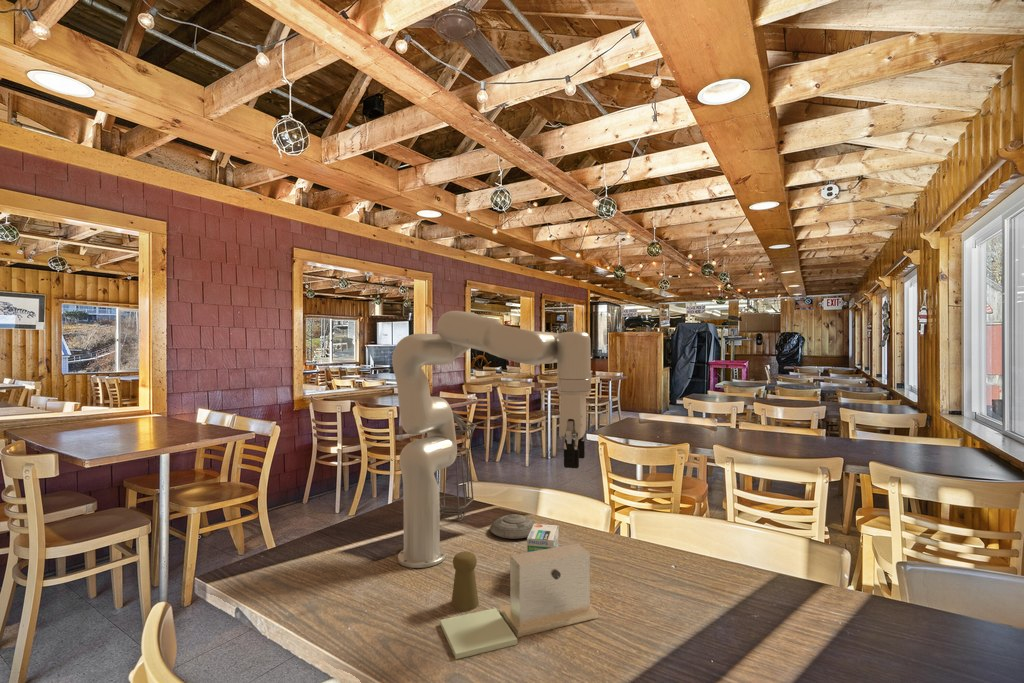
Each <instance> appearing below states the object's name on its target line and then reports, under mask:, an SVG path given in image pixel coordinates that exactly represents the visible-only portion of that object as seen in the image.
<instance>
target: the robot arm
mask: <svg viewBox="0 0 1024 683" xmlns="http://www.w3.org/2000/svg"><path fill="white" fill-rule="evenodd" d="M436 330H437V333H438V334H437V333H413V334H409V335H407V336H405V337H403V338H401V339H400V340H399V341H398V343H396V346H395V347H394V350H393V353H392V360H391V361H392V369H393V373H394V378H395V381H396V386H397V387H396V388H397V397H398V406H399V407H398V408H399V416H400V423H401V427H402V430H403V431H404V432H405V433H407V434H408V435H411V436H412V435H413V436H417V435H422V434H426V433H427V434H426V435H427V436H426V437H424V438H423V437H422V438H420V439H417V440H416V439H415V440H413V441H411V442H409V443H407V444H406V445H405V446H404V447H403V448H402V449H401V452H400V454H399V468H400V472H401V476H402V477H401V478H402V491H403V497H402V500H403V549H402V550H400V551H399V553H398V555H397V562H398V563H399V564H400V565H402V566H403V567H407V568H413V569H423V568H429V567H433V566H436V565H438V564H440V563H441V562H443V561H444V560H445V558H446V556H447V554H446V550H445V549H444V548H443V547H441V543H440V542H441V540H440V539H441V538H440V537H441V533H440V532H441V531H440V530H441V529H440V526H441V520H440V519H441V515H440V512H441V509H440V507H441V505H440V503H441V501H440V499H441V498H439V497H440V487H439V486H440V485H439V486H438V483H437V478H436V476H435V473H436V472H438V471H439V472H440V471H441V470H444V468H445V469H448V467H450V466H452V465H453V464H454V463H455V462H456V456H457V457H458V455H457V453H458V449H457V448H458V443H457V435H456V432H455V431H456V429H455V427H456V425H455V420H454V417H453V412H454V411H453V410H452V407H451V406H450V403H449V402H448V401H447V400H446V399H445V398H443V397H440V396H431V392H430V383H429V379H428V377H427V375H426V373H425V372H424V370H423V368H422V367H423V366H435V365H437V366H440V365H447V364H448V363H451V362H452V361H454V360H456V359H457V358H459V357H460V356H462V355H463V354H464V353H466V352H467V351H469V350H470V349H473V350H477V351H481V352H485V353H488V354H489V355H492V356H496V357H497V358H501V359H504V360H507V361H512V362H515V363H519V364H524V365H531V366H533V365H546V364H555V363H556V367H557V368H556V369H557V371H556V373H557V375H556V376H557V380H556V382H557V384H556V385H557V394H560V401H559V402H560V403H559V429H558V430H559V431H558V433H559V434H558V436H559V438H560V440H561V439H564V445H563V467H564V468H565V469H579V467H580V459H585V456H586V455H585V454H586V451H585V447H586V446H585V436H584V435H585V434H586V430H587V395H588V394H589V395H590V394H591V393H592V380H591V379H592V374H591V373H592V371H591V370H592V369H591V368H592V367H591V365H592V363H591V362H592V359H591V356H592V355H591V353H592V352H591V344H592V343H591V337H590V334H589V333H588V332H584V331H565V332H560V333H559V332H558V333H557V332H551V331H539V330H538V331H537V330H535V331H534V330H528V329H527V330H526V329H522V328H516V327H515V326H514V327H513V326H508V325H504V324H502V323H501V321H500V320H499V319H497V318H493V317H488V316H483V315H479V314H477V313H475V312H472V311H461V310H450V311H446V312H445V313H443V314H442V315H441V316H440V317H439V318H438V320H437V323H436ZM452 411H453V412H452Z"/></svg>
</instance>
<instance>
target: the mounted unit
mask: <svg viewBox="0 0 1024 683" xmlns="http://www.w3.org/2000/svg"><path fill="white" fill-rule="evenodd" d="M590 555H591V553H590V551H589V550H587V549H586V548H585V547H583V546H582V545H581V544H579V543H574V544H568V545H563V546H559V547H555V548H549V549H544V550H538V551H532V552H527V551H526V552H521V553H515V554H511V555H509V558H510V560H509V562H510V566H509V569H510V570H509V572H510V573H509V575H510V577H509V578H510V579H509V580H510V585H509V587H510V590H509V592H510V600H509V601H510V603H509V604H504V605H500V606H499V613H500V615H501V616H502V618H503V619H505V622H506V623H507V625H508V626H509V628H510V629H511V630H513V631H512V632H513V633H514V635H515V636H516V637H517V638H520V637H521V638H522V637H526V636H529V635H533V634H537V633H542V632H547V631H550V630H553V629H558V628H563V627H566V626H572V625H575V624H578V623H579V624H580V623H582V622H587V621H591V620H595V619H598V618H599V612H598V611H597V610H596V609H595V608H594V607H593V606H592V605H591V574H590V573H591V570H590V569H591V566H590V565H591V564H590V562H591V561H590V560H591V559H590V558H591V556H590Z"/></svg>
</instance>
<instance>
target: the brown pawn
mask: <svg viewBox="0 0 1024 683" xmlns="http://www.w3.org/2000/svg"><path fill="white" fill-rule="evenodd" d="M477 562H478V560H477V557H476V555H475V553H473V552H471V551H459V552H457V553H456V554H455V555H454V556H453V559H452V565H453V568H454V570H455V572H454V580H453V587H452V596H451V604H450V605H451V608H452V609H453V610H456V611H459V612H470V611H472V610H475V609H476V608H478V606H479V604H480V603H479V595H478V588H477V581H476V572H475V568H476V566H477Z"/></svg>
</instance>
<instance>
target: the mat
mask: <svg viewBox="0 0 1024 683" xmlns="http://www.w3.org/2000/svg"><path fill="white" fill-rule="evenodd" d="M504 619H505V618H504V617H503V615H502V614H501V613H500V611H499V610H498V609H497V608H496V607H494V608H491V609H490V608H489V609H486V610H485V609H484V610H481V611H476V612H471V613H466V614H463V615H457V616H453V617H448V618H444V619H440V621H439V625H440V627H441V629H442V632H443V634H444V636H445V638H446V641H447V643H448V645H449V648H451V649H450V650H451V651H452V654H453V656H454V658H455V660H459V659H463V658H466V657H471V656H475V655H479V654H484V653H487V652H491V651H497V650H500V649H504V648H508V647H511V646H512V647H513V646H517V645H518V637H517V635H516V634H515V633H514V631H512V628H511V627H510V625H509V624H508V623H507V621H506V620H504Z"/></svg>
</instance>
